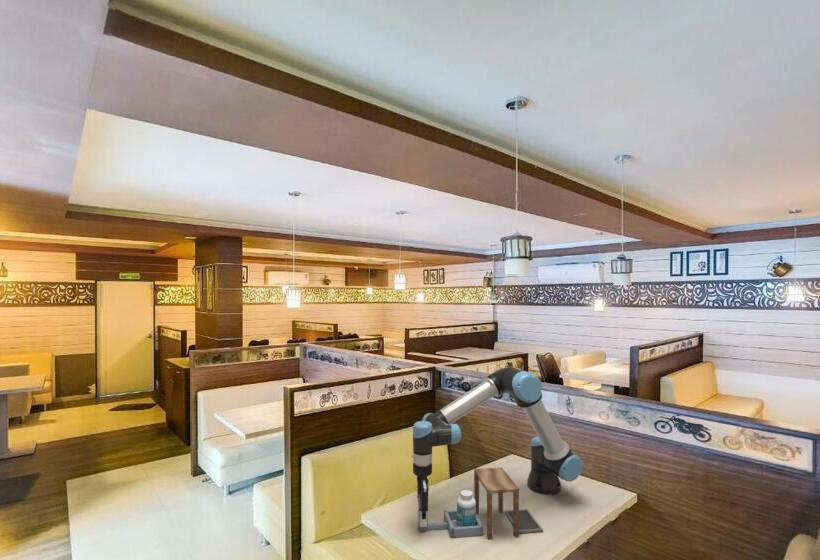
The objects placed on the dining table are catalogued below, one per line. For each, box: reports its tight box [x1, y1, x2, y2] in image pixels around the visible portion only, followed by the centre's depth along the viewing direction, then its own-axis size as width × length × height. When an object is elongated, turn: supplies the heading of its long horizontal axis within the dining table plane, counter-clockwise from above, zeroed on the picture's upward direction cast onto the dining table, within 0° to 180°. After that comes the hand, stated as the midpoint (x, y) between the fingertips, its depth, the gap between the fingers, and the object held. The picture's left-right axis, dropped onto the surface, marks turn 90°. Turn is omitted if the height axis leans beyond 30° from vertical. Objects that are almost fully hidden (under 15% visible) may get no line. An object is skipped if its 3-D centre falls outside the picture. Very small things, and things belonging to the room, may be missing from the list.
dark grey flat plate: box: [504, 508, 544, 535], centre depth 168 cm, size 10×15×1 cm, turn 7°
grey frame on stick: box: [417, 494, 484, 539], centre depth 164 cm, size 24×13×13 cm, turn 97°
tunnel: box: [473, 467, 520, 540], centre depth 167 cm, size 12×19×18 cm, turn 7°
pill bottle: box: [456, 489, 476, 527], centre depth 165 cm, size 8×7×14 cm
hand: (422, 523), depth 163 cm, fingers closed on grey frame on stick, 4 cm apart
